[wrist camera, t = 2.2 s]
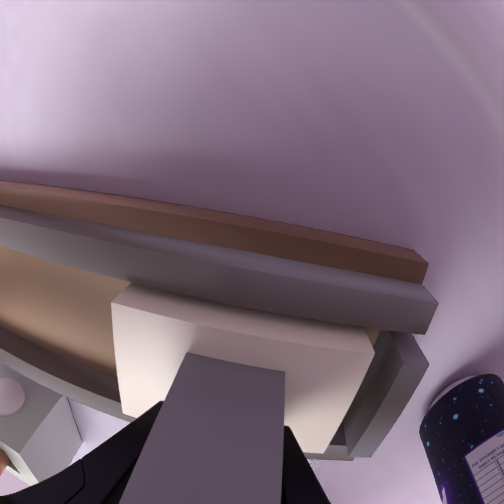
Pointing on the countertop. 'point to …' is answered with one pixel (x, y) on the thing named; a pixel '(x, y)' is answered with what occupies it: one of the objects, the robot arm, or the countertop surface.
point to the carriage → (227, 392)
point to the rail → (197, 291)
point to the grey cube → (35, 428)
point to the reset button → (3, 460)
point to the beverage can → (467, 440)
